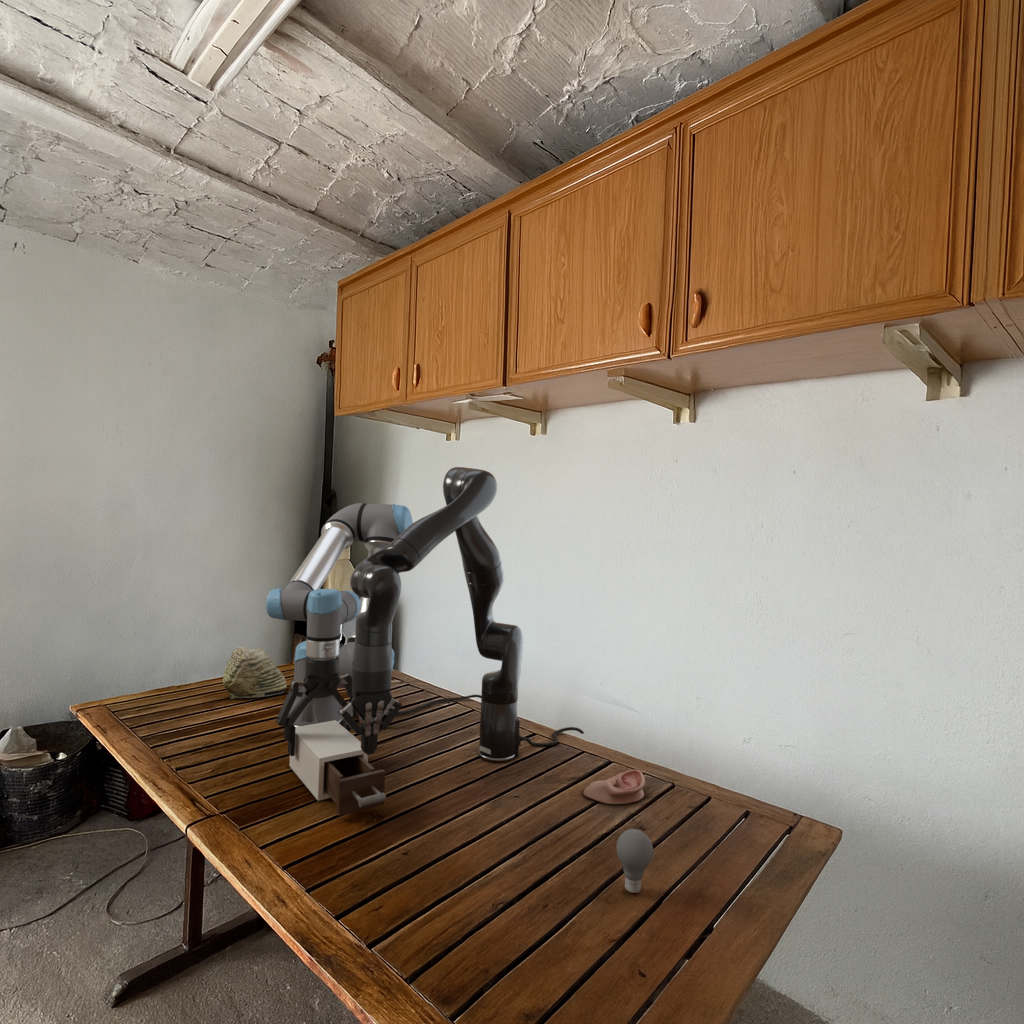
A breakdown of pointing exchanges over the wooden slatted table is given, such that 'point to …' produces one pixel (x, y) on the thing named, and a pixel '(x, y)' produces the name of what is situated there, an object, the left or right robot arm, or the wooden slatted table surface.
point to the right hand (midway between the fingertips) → (368, 752)
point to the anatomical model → (618, 788)
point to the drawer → (354, 784)
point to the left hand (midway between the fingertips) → (319, 748)
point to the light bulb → (634, 857)
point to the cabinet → (321, 752)
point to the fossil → (252, 674)
